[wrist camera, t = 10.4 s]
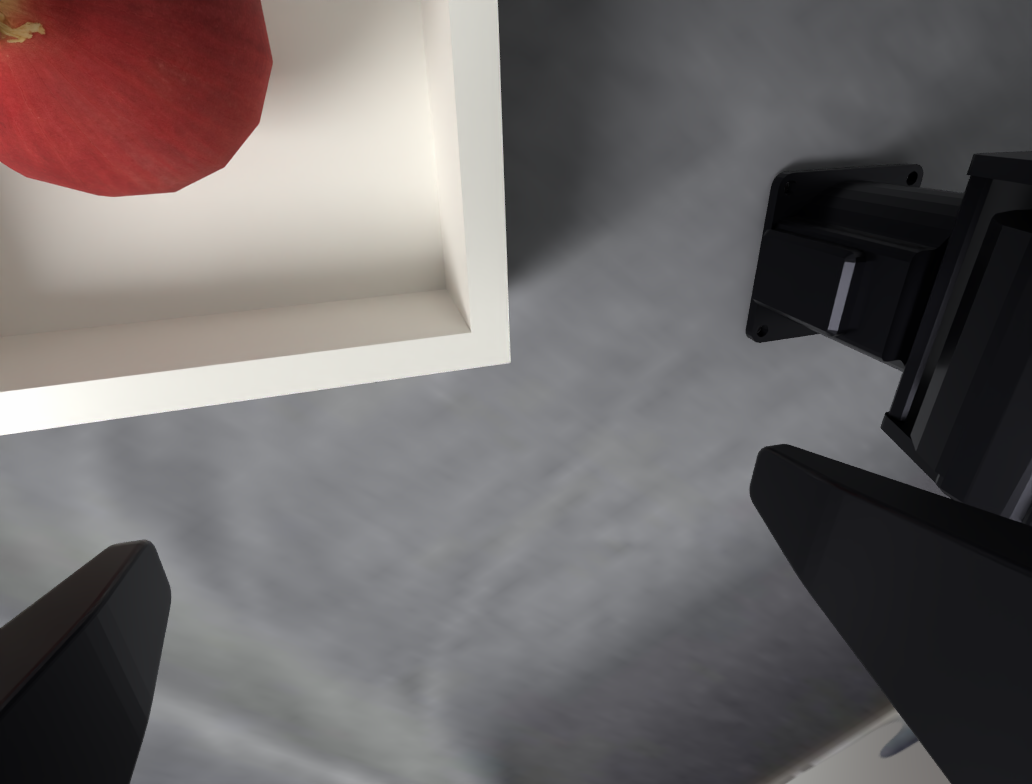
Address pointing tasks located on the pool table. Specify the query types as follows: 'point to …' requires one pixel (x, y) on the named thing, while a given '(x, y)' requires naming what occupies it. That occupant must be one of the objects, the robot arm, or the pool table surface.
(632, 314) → the pool table surface
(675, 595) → the pool table surface
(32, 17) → the onion
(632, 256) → the pool table surface
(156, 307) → the bin
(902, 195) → the robot arm
